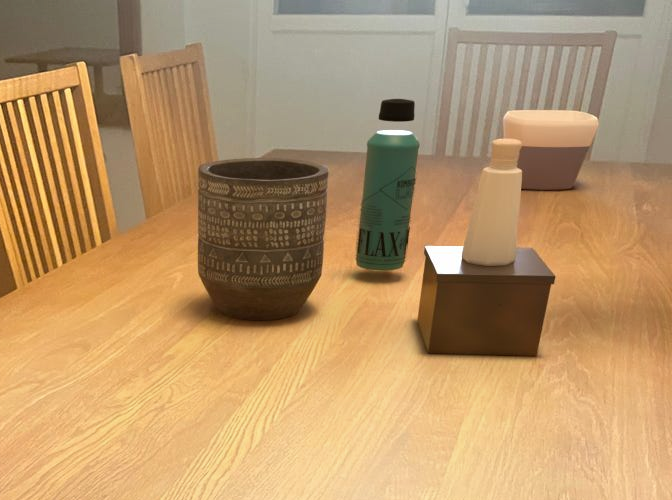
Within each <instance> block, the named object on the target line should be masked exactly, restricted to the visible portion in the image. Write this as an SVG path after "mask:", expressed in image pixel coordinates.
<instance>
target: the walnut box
mask: <svg viewBox="0 0 672 500" xmlns="http://www.w3.org/2000/svg"><path fill="white" fill-rule="evenodd" d="M462 250H463V246H456V245H455V246H453V245H449V246H448V245H424V249H423V255H424V256H425V258H424V265H423V273H422V280H421V281H422V282H421V289H420V296H419V305H418V312H417V320H416V321H417V324H418V328H419V331H420V333H421V336H422V339H423V343H424V346H425V348H426V352H427V353H428V354H444V355H446V354H447V355H477V356H478V355H481V356H485V355H487V356H515V357H516V356H519V357H520V356H522V357H537V356H538V352H539V346H540V341H541V336H542V332H543V326H544V322H545V318H546V312H547V307H548V303H549V297H550V293H551V288H552V285H555V282H556V278H557V277H556V275H555V273H554V272H553V271H552V270H551V268H549V266H548V265H547V264H546V262H545V261H544V260H543V259H542V258H541V256H540V255H539V254H538V253H537V251H536V250H535V249H534V248H533V247H516V259H515V261H514V262H512V263H510V264H508V265H506V266H483V265H477V264H471V263H468V262H466V261H465V260H464V259H462V258H461V254H462Z"/></svg>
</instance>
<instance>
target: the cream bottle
mask: <svg viewBox="0 0 672 500" xmlns="http://www.w3.org/2000/svg"><path fill="white" fill-rule="evenodd" d="M521 147H522V142H521V141H519V140H516V139H504V138H497V139H495V140H492V142H491V152H490V153H491V154H490V161H489V166H487V167H484V168H483V169H482V171H481V172H482V173H481V176H480V179H479V183H478V188H477V191H476V195H475V199H474V203H473V207H472V210H471V215H470V219H469V222H468V227H467V230H466V235H465V239H464V243H463V246H462V247H463V250H462V254H461V258H462V259H464V260H465V261H466V262H468V263H471V264H477V265H483V266H506V265H508V264H510V263H512V262H514V261H515V259H516V248H517V243H518V233H519V232H518V231H519V219H520V206H521V195H522V194H521V193H522V189H521V183H522V170H520V169H519V168H517V164H518V163H517V161H518V159H519V154H520V153H519V151H520V149H521Z"/></svg>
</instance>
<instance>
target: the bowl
mask: <svg viewBox="0 0 672 500" xmlns="http://www.w3.org/2000/svg"><path fill="white" fill-rule="evenodd" d="M502 120H503V123H502V124H503V139H516V140H519V141H521V142H522V147H521V149H520V151H519V153H520V154H519V159H518V161H517V163H518V164H517V168H519V169H520V170H522V183H521V190H533V191H534V190H536V191H540V190H541V191H556V190H557V191H558V190H559V191H560V190H570V189H572V188H573V187H574V185H575V183H576V180H577V178H578V176H579V173H580V171H581V169H582V166H583V163H584V162H585V159H586V157H587V154H588V152H589V149H590V148H591V145H592V143H593V142H594V141H593V140H594V138H595V136H596V134H597V132H598V129H599V126H600V122H599V119H598V117H596V115H593V114H592V113H591V114H590V113H588V112H585V111H579V110H568V109H567V110H566V109H563V110H561V109H559V110H558V109H523V110H522V109H520V110H519V109H518V110H517V109H516V110H508V111H506V113H505V114H504V116H503V119H502Z"/></svg>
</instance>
